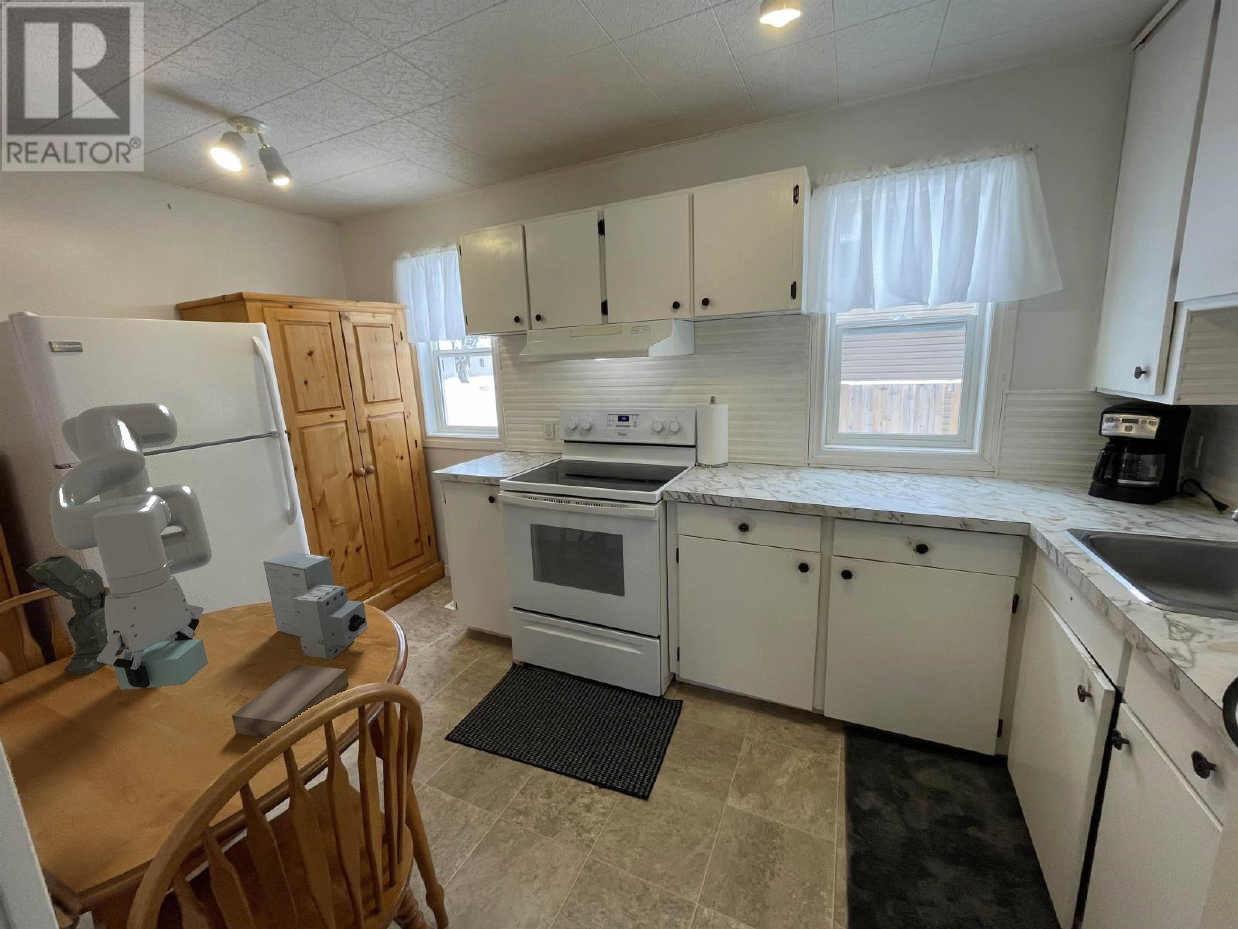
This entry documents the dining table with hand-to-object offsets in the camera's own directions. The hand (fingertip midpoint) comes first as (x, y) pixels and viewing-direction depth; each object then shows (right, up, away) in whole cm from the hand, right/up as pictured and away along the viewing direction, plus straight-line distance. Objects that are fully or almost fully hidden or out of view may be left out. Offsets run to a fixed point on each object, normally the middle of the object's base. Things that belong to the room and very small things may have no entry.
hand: (165, 671), depth 88 cm
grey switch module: (-2, -8, +45) cm, 46 cm away
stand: (+13, -14, +15) cm, 24 cm away
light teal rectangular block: (0, -1, 0) cm, 1 cm away
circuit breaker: (+11, -9, +36) cm, 38 cm away
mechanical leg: (-47, -12, +33) cm, 58 cm away
